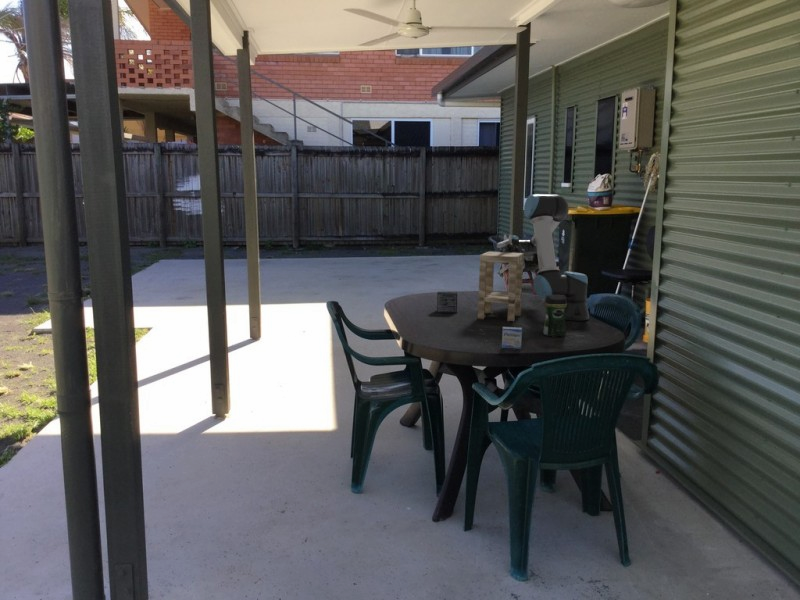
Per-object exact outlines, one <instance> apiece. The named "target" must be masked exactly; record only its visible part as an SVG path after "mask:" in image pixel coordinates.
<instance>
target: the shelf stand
mask: <svg viewBox="0 0 800 600" xmlns="http://www.w3.org/2000/svg"><path fill="white" fill-rule="evenodd" d="M524 255H525V253H509V252H505V251H502V252H500V251H486V252H484V253H482V254H481V253H480V254H479V276H478V279H479V280H478V298H477V299H478V305H477V306H478V307H477V319H478V320H484V318H485V319H486V314H489V313H491V314H493V304H494V303H499V304H507V320H506V321H507V322H509V321H513V322H512V323H514V322H515V321H516V320H515V319H516V318H515V317H520V316H522V315H521V313H522V290H523V274H524V272H523V271H524V269H523V260H524ZM495 263H503V264H509V274H508V275H509V278H508V292H499V291H494V279H495V278H494V276H495V270H494V269H495Z"/></svg>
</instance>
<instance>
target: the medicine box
mask: <svg viewBox="0 0 800 600" xmlns="http://www.w3.org/2000/svg"><path fill="white" fill-rule="evenodd" d="M501 335H502V337H501V340H502V341H501V349H502V348H519V349H521V350H522V336H523V327H517V326H516V327H515V326H513V327H512V326H502V333H501Z"/></svg>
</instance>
